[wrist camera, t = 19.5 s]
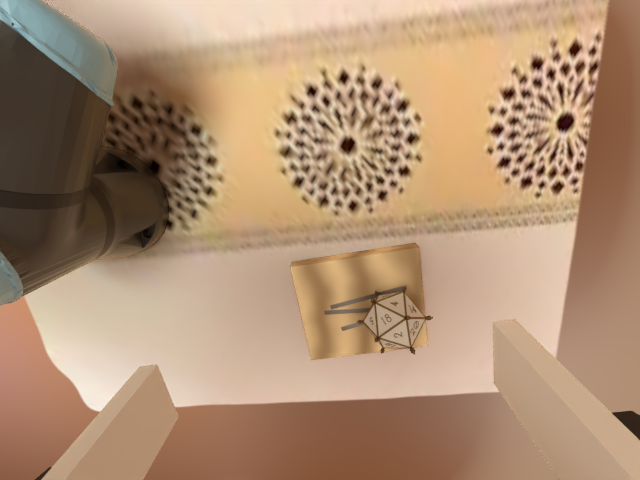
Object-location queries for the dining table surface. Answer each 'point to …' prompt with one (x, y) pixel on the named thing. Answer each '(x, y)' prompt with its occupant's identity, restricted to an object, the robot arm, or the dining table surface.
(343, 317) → the board
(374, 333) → the game die
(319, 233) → the dining table surface
